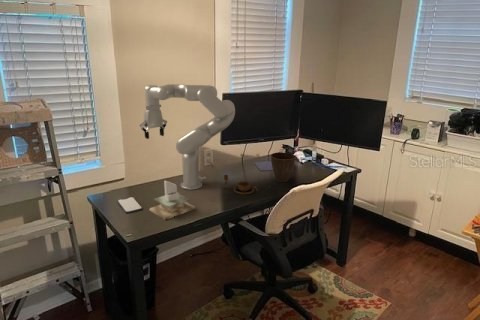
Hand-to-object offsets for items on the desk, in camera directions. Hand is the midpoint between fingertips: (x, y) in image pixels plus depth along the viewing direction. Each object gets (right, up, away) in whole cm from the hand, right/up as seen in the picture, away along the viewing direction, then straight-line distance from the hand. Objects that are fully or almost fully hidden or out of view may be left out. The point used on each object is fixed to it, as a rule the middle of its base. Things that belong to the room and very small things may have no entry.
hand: (154, 137), depth 209 cm
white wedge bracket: (+15, -33, -27) cm, 45 cm away
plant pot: (+75, -26, +15) cm, 81 cm away
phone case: (-8, -38, -22) cm, 44 cm away
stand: (+15, -39, -25) cm, 49 cm away
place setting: (+50, -30, +3) cm, 59 cm away
